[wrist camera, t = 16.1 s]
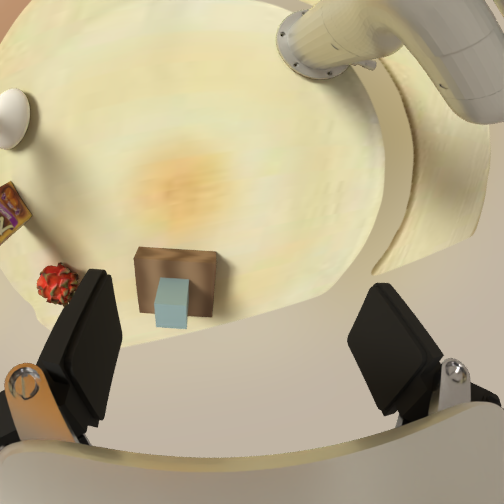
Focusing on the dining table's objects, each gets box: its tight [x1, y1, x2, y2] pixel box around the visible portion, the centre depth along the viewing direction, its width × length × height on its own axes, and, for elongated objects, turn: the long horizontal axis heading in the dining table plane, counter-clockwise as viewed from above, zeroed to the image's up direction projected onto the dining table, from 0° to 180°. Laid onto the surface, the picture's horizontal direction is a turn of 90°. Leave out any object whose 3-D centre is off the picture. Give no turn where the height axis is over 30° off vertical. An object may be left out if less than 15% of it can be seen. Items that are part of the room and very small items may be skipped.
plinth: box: [134, 247, 216, 317], centre depth 49 cm, size 14×12×4 cm
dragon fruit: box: [37, 263, 79, 307], centre depth 45 cm, size 8×8×12 cm
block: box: [154, 277, 189, 329], centre depth 45 cm, size 5×5×7 cm
